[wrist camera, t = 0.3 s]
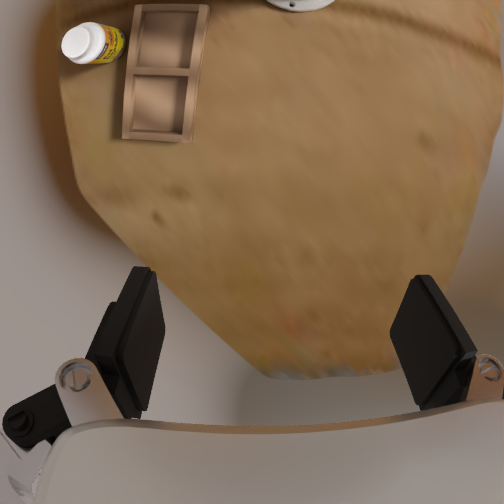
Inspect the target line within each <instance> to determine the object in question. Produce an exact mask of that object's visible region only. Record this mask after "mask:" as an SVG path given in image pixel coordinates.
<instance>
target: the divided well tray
mask: <svg viewBox="0 0 504 504" xmlns="http://www.w3.org/2000/svg"><path fill="white" fill-rule="evenodd" d="M210 10H211V9H210V7H209V6H208V5H205V4H141V5H135V9H134V15H133V21H132V28H131V35H130V42H129V50H128V58H127V68H126V78H125V90H124V104H123V122H122V139H140V140H156V141H169V142H180V143H189V142H190V141H191V140H192V139H193V130H194V121H195V112H196V104H197V96H198V88H199V80H200V73H201V66H202V59H203V52H204V46H205V40H206V33H207V27H208V22H209V16H210Z"/></svg>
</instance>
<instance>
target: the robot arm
mask: <svg viewBox="0 0 504 504" xmlns="http://www.w3.org/2000/svg"><path fill="white" fill-rule="evenodd" d="M266 1H267V2H269V3H271V4H273V5H274V6H277V7H279V8H282V9H285V10H289V11H296V12H308V11H314V10H318V9H321V8H323V7H326V6H327V5H329V4H330V3H332V2H333V1H334V0H266ZM290 4H292V5H293V7H290V6H289V5H290ZM164 336H165V323H164V318H163V312H162V307H161V301H160V295H159V290H158V283H157V277H156V273H155V272H154V271H151V269H150V268H149V267H137V266H134V267H133V268H132V270H131V272H130V275H129V276H128V279H127V281H126V283H125V285H124V287H123V289H122V291H121V293H120V295H119V297H118V300H117V302H111V303H110V305H109V306H108V308H107V310H106V312H105V314H104V316H103V319H102V321H101V323H100V326H99V327H98V330H97V332H96V334H95V336H94V339H93V341H92V343H91V345H90V348H89V350H88V352H87V355H86V357H85V359H84V358H74V359H71V360H68V361H67V362H65V363H63V364H62V365H61V366H60V367H59V369H58V370H57V372H56V375H55V384H54V385H52V386H50V387H48V388H46V389H44V390H42V391H40V392H38V393H36V394H34V395H33V396H31V397H28V398H26V399H25V400H23V401H21V402H19V403H17V404H15V405H13V406H12V407H10V408H9V409H8V410H7V412H6V413H5V415H4V417H3V423H2V425H3V427H2V428H1V429H0V504H504V369H503V366H502V365H501V363H500V362H499V361H498V360H497V359H496V358H494V357H493V356H490V355H481V356H479V357H478V358H476V356H475V354H476V352H477V351H478V350H477V349H476V347H475V345H474V343H473V342H472V340H471V339H470V336H469V335H468V333H467V331H466V330H465V328H464V326H463V325H462V323H461V322H460V320H459V318H458V316H457V315H456V313H455V312H454V310H453V308H452V307H451V305H450V304H449V302H448V301H447V299H446V298H445V296H444V294H443V293H442V291H441V290H440V288H439V287H438V285H437V284H436V282H435V281H434V279H433V278H432V277H431V276H430V275H416V276H415V277H414V279H411V281H410V283H409V286H408V288H407V291H406V293H405V296H404V298H403V301H402V303H401V305H400V308H399V310H398V313H397V315H396V317H395V319H394V322H393V324H392V326H391V329H390V338H391V340H392V343H393V345H394V348H395V350H396V353H397V355H398V358H399V360H400V363H401V366H402V368H403V371H404V373H405V376H406V379H407V382H408V384H409V387H410V389H411V392H412V395H413V398H414V401H415V403H416V404H417V405H419V407H420V410H421V411H418V412H413V413H408V414H401V415H395V416H390V417H382V418H375V419H368V420H360V421H351V422H341V423H331V424H317V425H299V426H220V425H203V424H186V423H175V422H164V421H151V420H140V418H141V414H142V411H147V408H148V404H149V399H150V395H151V390H152V386H153V381H154V377H155V373H156V369H157V365H158V360H159V356H160V352H161V348H162V344H163V340H164ZM131 418H138V419H131ZM41 469H42V472H41V474H40V473H39V471H40V470H41ZM39 475H40V478H39V481H38V485H37V489H36V493H35V497H33V495H32V490H31V489H32V484H33V482H34V480H35V479H36V478H37V477H38V476H39Z"/></svg>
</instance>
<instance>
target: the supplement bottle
mask: <svg viewBox="0 0 504 504" xmlns="http://www.w3.org/2000/svg"><path fill="white" fill-rule="evenodd" d="M125 44H126V39H125V36H124V34H123V32H122V31H121V30H119V29H118V28H115V27H111V26H107V25H103V24H98V23H94V22H86V23H82V24H80V25H78V26H77V27H74V28H72V29H71V30H69V31H68V32H67V33H66V34H65V36H64V38H63V40H62V45H61V47H62V52H63V53H64V55H65V56H67V57H68V58H69V59H70V60H71V61H72V62H74V63H77V64H95V63H109V62H112V61H114V60H116V59H117V58H118V57H119V56H120V55H121V54H122V53H123V51H124V48H125Z"/></svg>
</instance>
